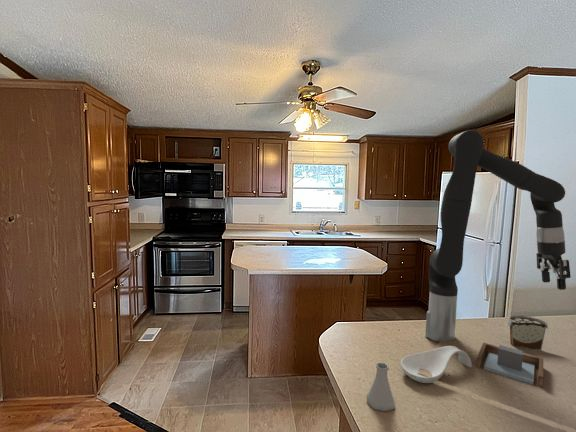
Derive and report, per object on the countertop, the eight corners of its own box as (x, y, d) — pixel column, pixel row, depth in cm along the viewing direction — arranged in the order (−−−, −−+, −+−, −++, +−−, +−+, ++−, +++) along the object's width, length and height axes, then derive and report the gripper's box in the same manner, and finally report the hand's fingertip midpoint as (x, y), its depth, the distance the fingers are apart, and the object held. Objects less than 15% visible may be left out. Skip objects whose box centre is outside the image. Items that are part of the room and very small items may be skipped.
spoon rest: (420, 393, 88) (422, 368, 88) (391, 371, 99) (392, 348, 98) (482, 376, 97) (484, 353, 96) (449, 357, 108) (450, 336, 107)
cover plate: (483, 369, 99) (485, 350, 98) (488, 355, 107) (490, 337, 107) (533, 384, 91) (535, 364, 91) (534, 368, 100) (536, 349, 99)
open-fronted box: (475, 370, 100) (476, 357, 100) (482, 353, 110) (483, 342, 110) (542, 390, 90) (543, 377, 90) (542, 370, 100) (543, 358, 100)
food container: (534, 342, 119) (536, 315, 119) (545, 350, 113) (548, 322, 112) (498, 340, 121) (500, 313, 120) (508, 348, 115) (510, 320, 114)
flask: (362, 394, 87) (363, 358, 86) (388, 393, 88) (390, 357, 87) (371, 412, 80) (373, 373, 79) (400, 411, 81) (402, 372, 80)
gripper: (527, 237, 121) (530, 280, 122) (551, 244, 107) (554, 292, 108) (549, 235, 119) (552, 279, 120) (577, 242, 105) (580, 291, 106)
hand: (553, 285), depth 114 cm, fingers open, 8 cm apart
